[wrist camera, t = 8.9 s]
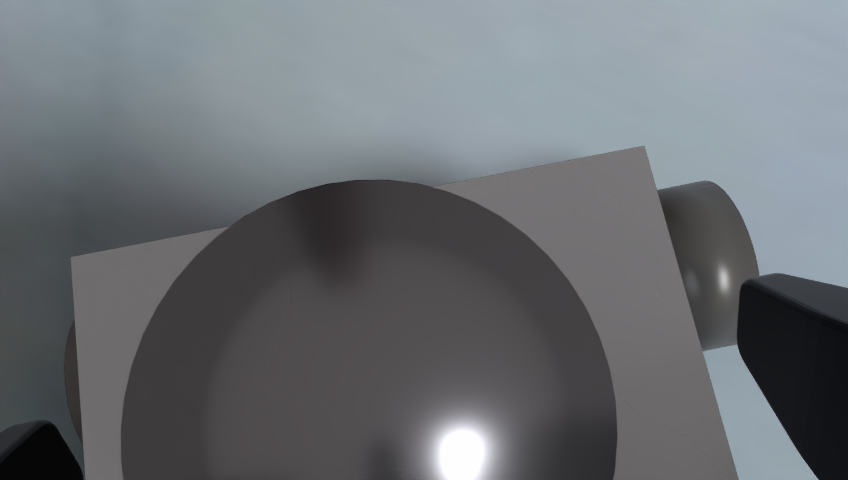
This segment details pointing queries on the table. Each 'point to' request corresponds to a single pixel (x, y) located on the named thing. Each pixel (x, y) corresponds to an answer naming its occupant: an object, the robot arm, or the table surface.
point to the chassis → (695, 253)
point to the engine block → (405, 338)
